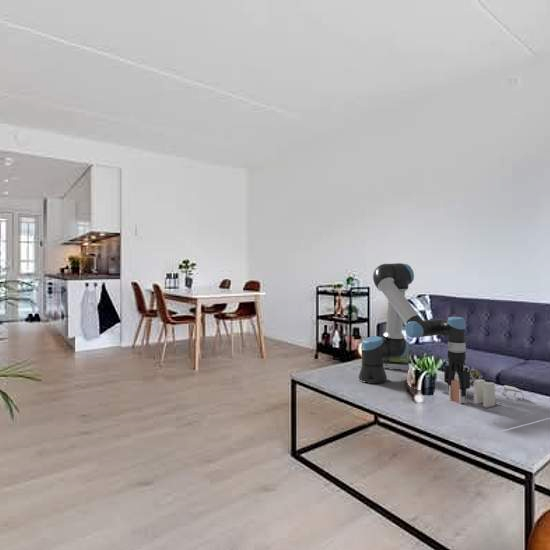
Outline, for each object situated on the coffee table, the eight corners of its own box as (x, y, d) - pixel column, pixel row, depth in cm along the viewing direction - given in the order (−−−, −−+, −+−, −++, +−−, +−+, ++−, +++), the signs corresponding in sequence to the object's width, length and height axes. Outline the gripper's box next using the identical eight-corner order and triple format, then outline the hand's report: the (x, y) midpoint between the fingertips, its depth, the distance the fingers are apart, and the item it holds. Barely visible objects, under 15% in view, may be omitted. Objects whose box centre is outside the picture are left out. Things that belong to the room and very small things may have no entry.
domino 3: (483, 405, 179) (483, 383, 179) (491, 404, 181) (491, 382, 181) (486, 407, 177) (486, 384, 177) (494, 405, 179) (494, 383, 179)
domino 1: (459, 404, 182) (459, 382, 182) (451, 401, 187) (450, 379, 187) (462, 403, 183) (462, 382, 183) (453, 400, 188) (453, 379, 187)
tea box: (409, 367, 248) (409, 343, 247) (407, 371, 239) (407, 346, 238) (384, 365, 254) (384, 341, 253) (381, 369, 245) (381, 344, 244)
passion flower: (476, 397, 207) (473, 382, 201) (456, 388, 216) (453, 373, 210) (487, 382, 212) (484, 366, 206) (467, 374, 220) (464, 359, 214)
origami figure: (495, 397, 192) (495, 386, 191) (505, 394, 196) (505, 384, 196) (520, 404, 181) (520, 393, 181) (531, 401, 185) (531, 390, 185)
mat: (441, 393, 198) (441, 392, 198) (456, 390, 202) (456, 389, 202) (486, 410, 175) (486, 409, 175) (501, 406, 179) (501, 405, 179)
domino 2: (473, 402, 184) (473, 380, 183) (481, 400, 186) (481, 379, 185) (477, 403, 182) (477, 381, 182) (484, 401, 184) (484, 380, 184)
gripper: (435, 348, 191) (435, 396, 192) (467, 355, 175) (467, 408, 175) (447, 346, 194) (447, 394, 195) (479, 353, 178) (479, 405, 178)
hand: (456, 400), depth 185 cm, fingers closed on domino 1, 5 cm apart
